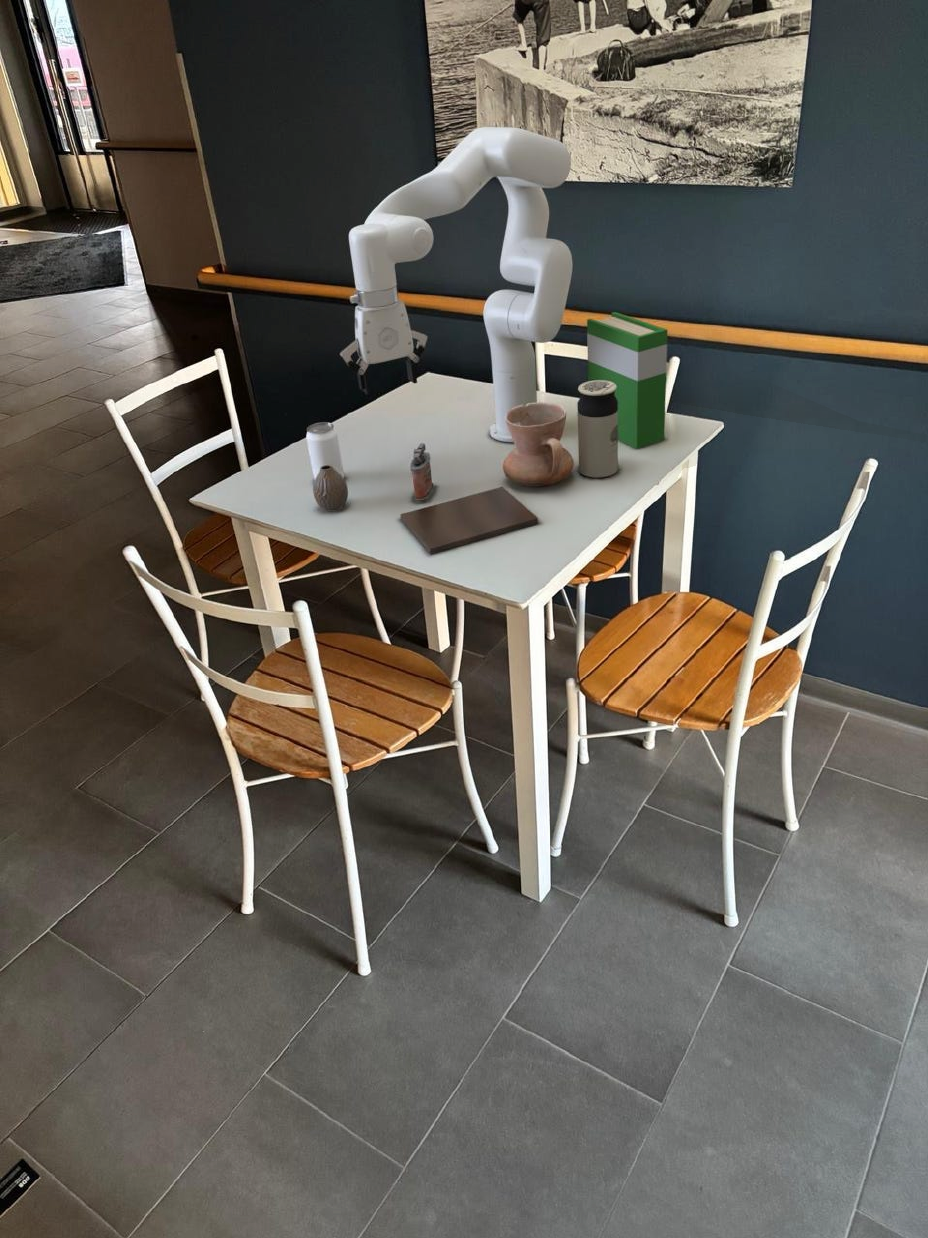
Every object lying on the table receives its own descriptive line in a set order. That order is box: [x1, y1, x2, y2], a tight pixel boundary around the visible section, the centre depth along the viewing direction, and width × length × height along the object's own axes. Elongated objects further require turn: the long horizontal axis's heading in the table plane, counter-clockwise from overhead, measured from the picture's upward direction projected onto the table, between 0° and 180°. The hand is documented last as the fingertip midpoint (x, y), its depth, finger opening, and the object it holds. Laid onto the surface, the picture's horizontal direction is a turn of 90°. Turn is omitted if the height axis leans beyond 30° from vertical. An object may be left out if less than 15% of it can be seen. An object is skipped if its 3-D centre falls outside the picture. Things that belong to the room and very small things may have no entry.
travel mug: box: [576, 380, 619, 479], centre depth 190 cm, size 8×8×18 cm
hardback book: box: [586, 311, 668, 449], centre depth 203 cm, size 18×7×24 cm, turn 29°
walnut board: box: [399, 486, 539, 555], centre depth 181 cm, size 22×16×1 cm
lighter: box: [409, 442, 435, 504], centre depth 190 cm, size 8×3×10 cm, turn 168°
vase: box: [312, 465, 349, 512], centre depth 189 cm, size 7×7×9 cm
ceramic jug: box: [502, 401, 575, 487], centre depth 190 cm, size 18×14×14 cm
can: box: [305, 421, 345, 481], centre depth 199 cm, size 6×6×12 cm
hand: (389, 386), depth 182 cm, fingers open, 9 cm apart
